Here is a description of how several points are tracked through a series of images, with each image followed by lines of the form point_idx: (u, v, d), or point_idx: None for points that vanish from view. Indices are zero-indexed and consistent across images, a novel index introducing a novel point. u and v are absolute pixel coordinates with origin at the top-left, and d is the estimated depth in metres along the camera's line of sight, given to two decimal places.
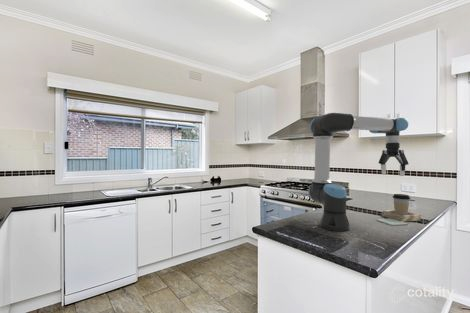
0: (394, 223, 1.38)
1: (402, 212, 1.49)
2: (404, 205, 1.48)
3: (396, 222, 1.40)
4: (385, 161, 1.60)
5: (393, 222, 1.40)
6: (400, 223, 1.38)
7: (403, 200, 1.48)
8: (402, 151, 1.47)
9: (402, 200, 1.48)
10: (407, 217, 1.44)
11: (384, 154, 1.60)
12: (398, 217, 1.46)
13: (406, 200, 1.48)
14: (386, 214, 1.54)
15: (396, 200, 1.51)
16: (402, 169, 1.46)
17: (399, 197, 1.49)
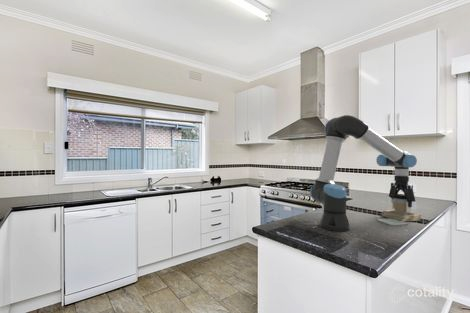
0: (394, 223, 1.38)
1: (402, 212, 1.49)
2: (404, 205, 1.48)
3: (396, 222, 1.40)
4: None
5: (393, 222, 1.40)
6: (400, 223, 1.38)
7: (403, 200, 1.48)
8: (411, 186, 1.45)
9: (402, 200, 1.48)
10: (407, 217, 1.44)
11: (393, 187, 1.57)
12: (398, 217, 1.46)
13: (406, 200, 1.48)
14: (386, 214, 1.54)
15: (396, 200, 1.51)
16: (408, 205, 1.46)
17: (399, 197, 1.49)
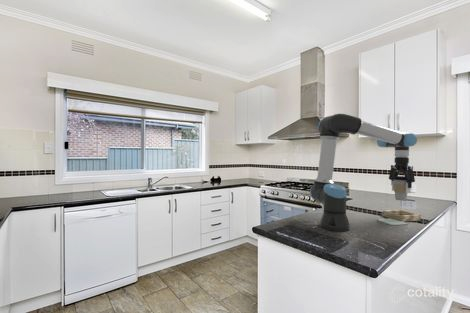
0: (394, 223, 1.38)
1: (401, 194, 1.49)
2: (404, 186, 1.48)
3: (396, 222, 1.40)
4: None
5: (393, 222, 1.40)
6: (400, 223, 1.38)
7: (403, 181, 1.48)
8: (411, 167, 1.45)
9: (402, 181, 1.48)
10: (407, 217, 1.44)
11: (393, 169, 1.57)
12: (398, 217, 1.46)
13: (406, 181, 1.48)
14: (386, 214, 1.54)
15: (396, 181, 1.50)
16: (408, 186, 1.46)
17: (399, 178, 1.49)
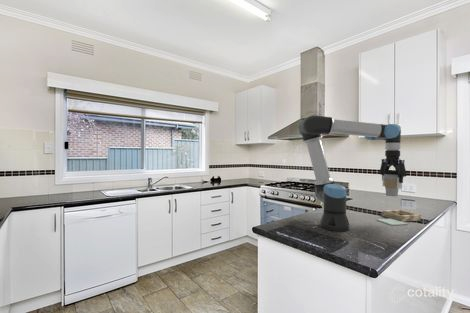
0: (394, 223, 1.38)
1: (392, 189, 1.39)
2: (395, 180, 1.38)
3: (396, 222, 1.40)
4: None
5: (393, 222, 1.40)
6: (400, 223, 1.38)
7: (394, 176, 1.38)
8: (402, 161, 1.36)
9: (393, 176, 1.39)
10: (407, 217, 1.44)
11: (384, 163, 1.48)
12: (398, 217, 1.46)
13: (397, 176, 1.38)
14: (386, 214, 1.54)
15: (387, 176, 1.41)
16: (399, 181, 1.36)
17: (390, 173, 1.39)
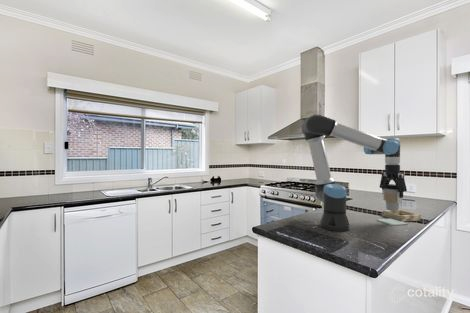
0: (394, 223, 1.38)
1: (393, 204, 1.39)
2: (395, 195, 1.38)
3: (396, 222, 1.40)
4: None
5: (393, 222, 1.40)
6: (400, 223, 1.38)
7: (394, 190, 1.38)
8: (402, 175, 1.35)
9: (393, 190, 1.38)
10: (407, 217, 1.44)
11: (384, 177, 1.47)
12: (398, 217, 1.46)
13: (397, 190, 1.38)
14: (386, 214, 1.54)
15: (387, 190, 1.41)
16: (400, 196, 1.36)
17: (390, 187, 1.39)
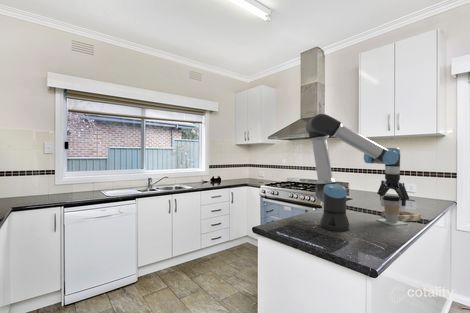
0: (394, 223, 1.38)
1: (392, 215, 1.39)
2: (394, 207, 1.38)
3: None
4: (384, 192, 1.47)
5: None
6: (400, 223, 1.38)
7: (393, 202, 1.38)
8: (402, 184, 1.35)
9: (392, 202, 1.39)
10: (407, 217, 1.44)
11: (383, 185, 1.48)
12: (398, 217, 1.46)
13: (397, 202, 1.38)
14: None
15: (386, 202, 1.41)
16: (402, 204, 1.34)
17: (389, 199, 1.39)
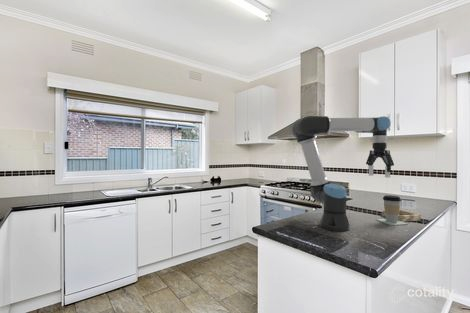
0: (394, 223, 1.38)
1: (392, 215, 1.39)
2: (394, 207, 1.38)
3: None
4: (372, 162, 1.54)
5: None
6: (400, 223, 1.38)
7: (393, 202, 1.38)
8: (388, 151, 1.41)
9: (392, 202, 1.39)
10: (407, 217, 1.44)
11: (371, 154, 1.54)
12: (398, 217, 1.46)
13: (397, 202, 1.38)
14: None
15: (386, 202, 1.41)
16: (387, 170, 1.41)
17: (389, 199, 1.39)
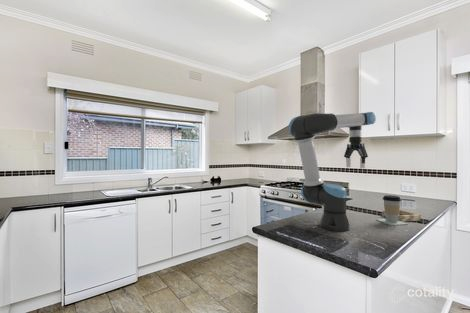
0: (394, 223, 1.38)
1: (392, 215, 1.39)
2: (394, 207, 1.38)
3: None
4: (349, 155, 1.67)
5: None
6: (400, 223, 1.38)
7: (393, 202, 1.38)
8: (362, 144, 1.55)
9: (392, 202, 1.39)
10: (407, 217, 1.44)
11: (348, 148, 1.68)
12: (398, 217, 1.46)
13: (397, 202, 1.38)
14: None
15: (386, 202, 1.41)
16: (362, 162, 1.54)
17: (389, 199, 1.39)
